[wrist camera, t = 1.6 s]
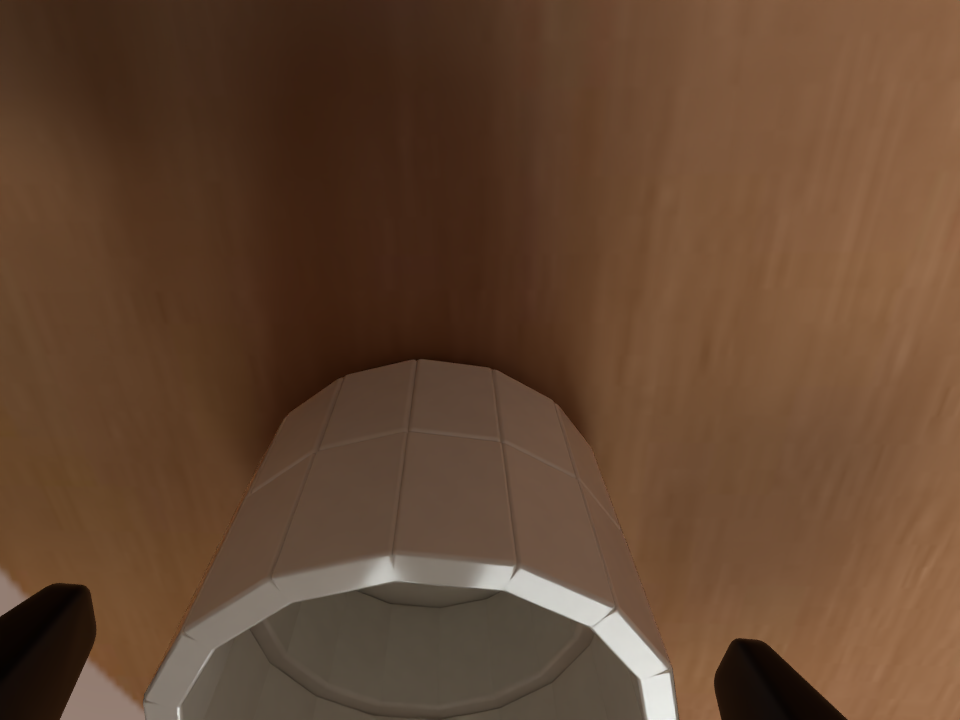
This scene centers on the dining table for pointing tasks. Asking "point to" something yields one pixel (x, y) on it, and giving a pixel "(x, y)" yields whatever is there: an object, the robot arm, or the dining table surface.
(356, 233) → the dining table surface
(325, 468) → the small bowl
